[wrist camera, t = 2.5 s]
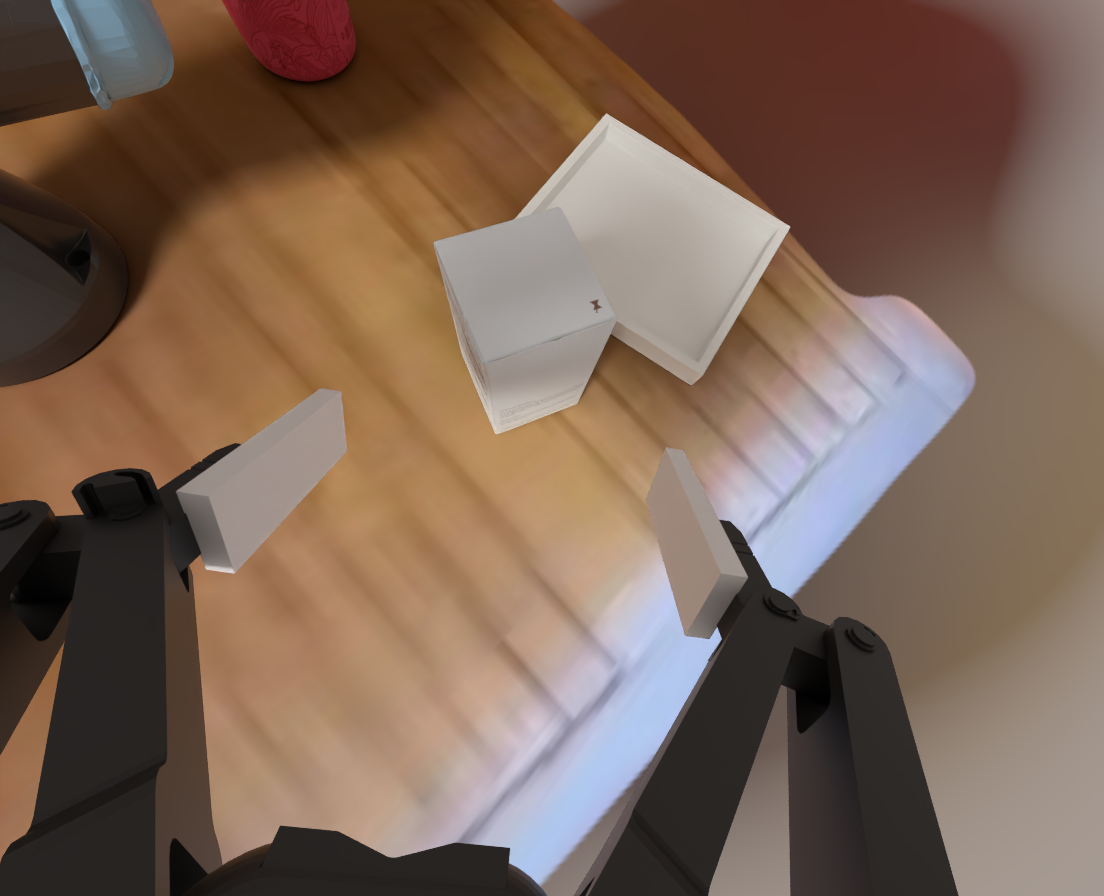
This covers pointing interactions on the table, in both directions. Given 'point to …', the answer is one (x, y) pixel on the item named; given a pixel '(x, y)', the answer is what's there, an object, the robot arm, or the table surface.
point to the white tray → (661, 243)
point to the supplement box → (525, 314)
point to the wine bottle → (297, 35)
